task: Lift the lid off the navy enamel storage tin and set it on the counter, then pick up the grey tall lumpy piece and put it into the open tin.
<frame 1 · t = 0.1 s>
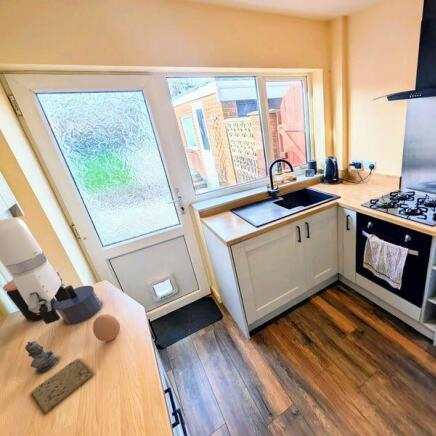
hand: (59, 310, 73), 24 cm above the countertop, tool pointing down, fingers open, 9 cm apart
tin lid: (74, 297, 103), point 8 cm above the countertop, touching tin
egg: (112, 338, 92), on the countertop
pitted brown brick: (62, 384, 77), on the countertop
grey tall lumpy piece: (48, 366, 84), on the countertop
coffee jar: (44, 313, 109), on the countertop
tin: (84, 312, 106), on the countertop
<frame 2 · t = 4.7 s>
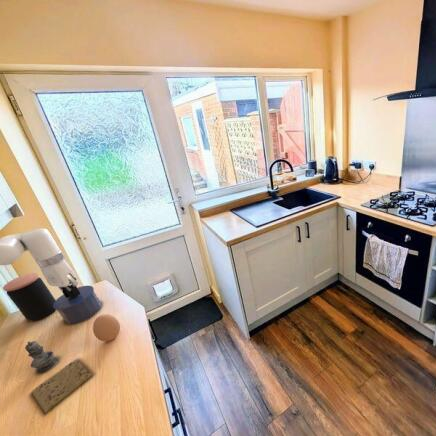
hand: (73, 295, 102), 10 cm above the countertop, tool pointing down, fingers closed on tin lid, 2 cm apart
tin lid: (74, 297, 103), point 9 cm above the countertop, touching gripper, tin
everything else where it was.
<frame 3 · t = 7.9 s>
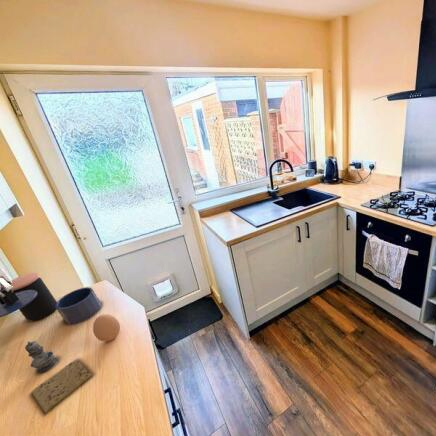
hand: (10, 302, 88), 19 cm above the countertop, tool pointing down, fingers closed on tin lid, 2 cm apart
tin lid: (12, 304, 88), point 18 cm above the countertop, touching gripper
everything else where it was.
when the fingers open (2 cm above the countertop, at t = 11.2 s): tin lid stays where it is, point 1 cm above the countertop.
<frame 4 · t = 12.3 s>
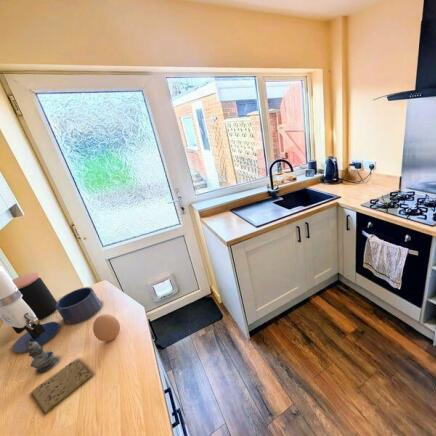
hand: (31, 332, 94), 4 cm above the countertop, tool pointing down, fingers open, 9 cm apart
tin lid: (37, 337, 96), point 1 cm above the countertop
everything else where it was.
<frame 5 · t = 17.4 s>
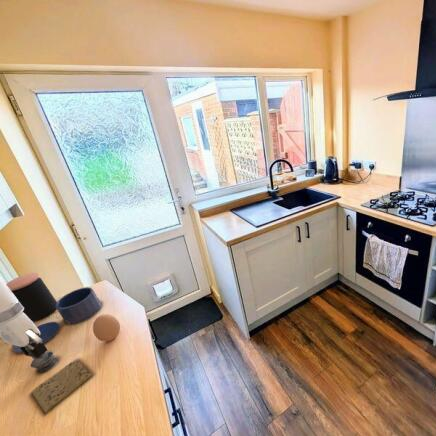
hand: (37, 352, 81), 7 cm above the countertop, tool pointing down, fingers closed on grey tall lumpy piece, 3 cm apart
grey tall lumpy piece: (48, 366, 84), on the countertop, touching gripper
everything else where it was.
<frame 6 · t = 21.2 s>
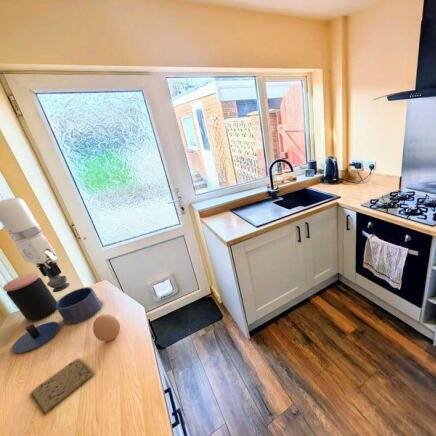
hand: (52, 274, 94), 23 cm above the countertop, tool pointing down, fingers closed on grey tall lumpy piece, 3 cm apart
grey tall lumpy piece: (61, 288, 97), point 16 cm above the countertop, touching gripper
everything else where it was.
when the fingers open (7 cm above the countertop, at t = 25.1 s): grey tall lumpy piece stays where it is, resting on tin.
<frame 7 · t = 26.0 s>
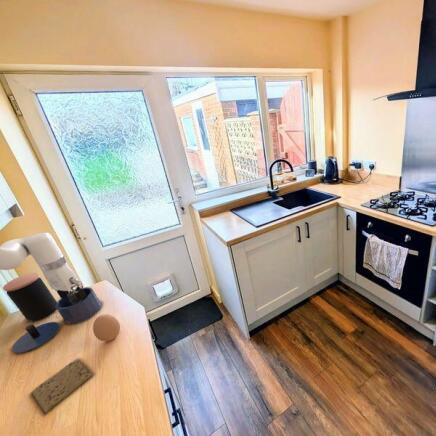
hand: (74, 297, 103), 9 cm above the countertop, tool pointing down, fingers open, 9 cm apart
grey tall lumpy piece: (83, 312, 106), resting on tin
everything else where it was.
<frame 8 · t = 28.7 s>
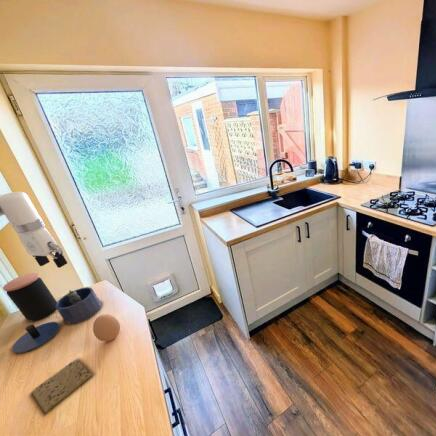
hand: (54, 264, 96), 25 cm above the countertop, tool pointing down, fingers open, 9 cm apart
nothing on the countertop moved.
at the end: tin lid inside the target area (0.1 cm from its centre), point 0.6 cm above the countertop; grey tall lumpy piece inside the target area in the tin (0.1 cm from its centre), point 0.3 cm above the tin's base; grey tall lumpy piece tilted 0° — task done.
